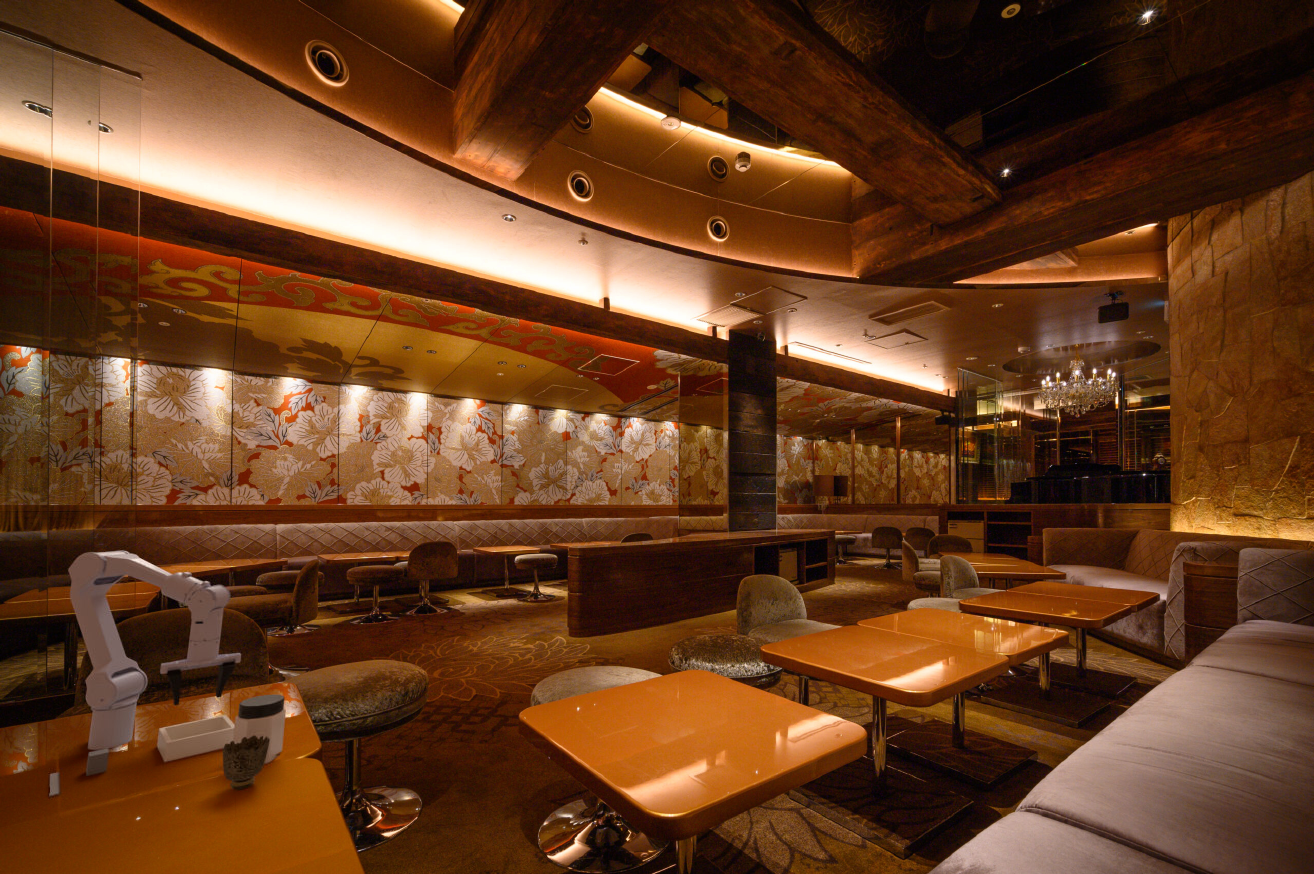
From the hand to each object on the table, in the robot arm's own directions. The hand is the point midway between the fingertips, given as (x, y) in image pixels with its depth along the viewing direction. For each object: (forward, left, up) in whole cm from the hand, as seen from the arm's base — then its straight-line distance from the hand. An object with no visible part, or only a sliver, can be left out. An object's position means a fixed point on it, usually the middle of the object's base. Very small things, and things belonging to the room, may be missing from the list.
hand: (197, 700), depth 130 cm
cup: (+34, +3, -10) cm, 35 cm away
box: (+5, 0, -9) cm, 11 cm away
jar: (+21, +8, -10) cm, 24 cm away
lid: (+7, -16, -10) cm, 20 cm away
